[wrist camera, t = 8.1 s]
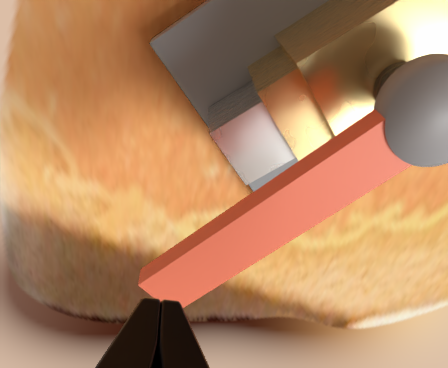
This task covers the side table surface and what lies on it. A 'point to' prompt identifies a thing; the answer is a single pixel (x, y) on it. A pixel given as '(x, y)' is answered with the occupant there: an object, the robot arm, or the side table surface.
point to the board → (225, 49)
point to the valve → (322, 79)
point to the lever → (315, 184)
